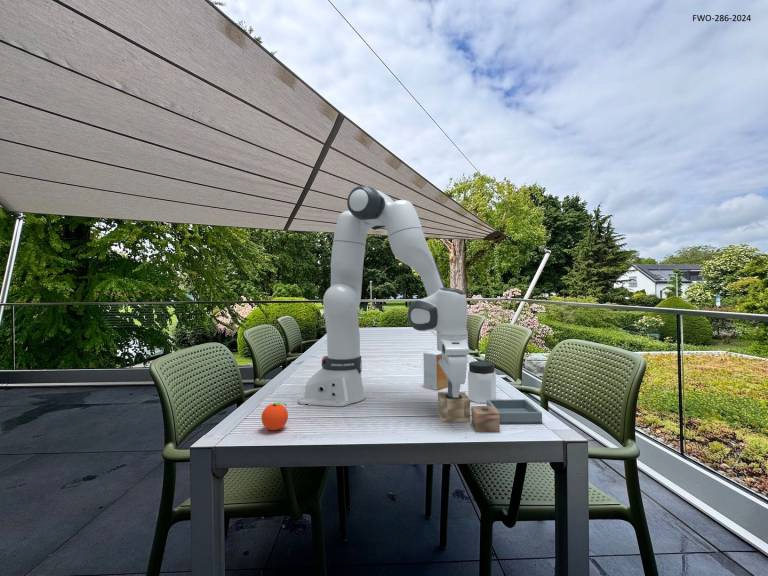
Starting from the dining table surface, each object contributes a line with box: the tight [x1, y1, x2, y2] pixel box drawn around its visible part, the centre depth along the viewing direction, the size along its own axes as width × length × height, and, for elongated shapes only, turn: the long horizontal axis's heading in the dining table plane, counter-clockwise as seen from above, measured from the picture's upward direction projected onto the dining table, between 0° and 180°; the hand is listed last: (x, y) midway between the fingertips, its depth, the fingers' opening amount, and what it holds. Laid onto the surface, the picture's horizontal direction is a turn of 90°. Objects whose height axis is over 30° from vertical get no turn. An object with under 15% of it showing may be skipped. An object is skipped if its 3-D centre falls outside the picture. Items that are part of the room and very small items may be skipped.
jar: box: [467, 360, 497, 404], centre depth 124 cm, size 9×8×12 cm
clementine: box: [261, 402, 289, 431], centre depth 102 cm, size 8×7×7 cm
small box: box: [423, 349, 448, 391], centre depth 141 cm, size 8×6×13 cm
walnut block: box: [470, 405, 501, 434], centre depth 100 cm, size 6×6×5 cm
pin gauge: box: [447, 381, 459, 399], centre depth 109 cm, size 3×3×9 cm
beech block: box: [437, 391, 471, 423], centre depth 109 cm, size 8×8×6 cm
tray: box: [486, 398, 543, 425], centre depth 108 cm, size 12×12×3 cm
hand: (452, 391), depth 108 cm, fingers open, 8 cm apart
